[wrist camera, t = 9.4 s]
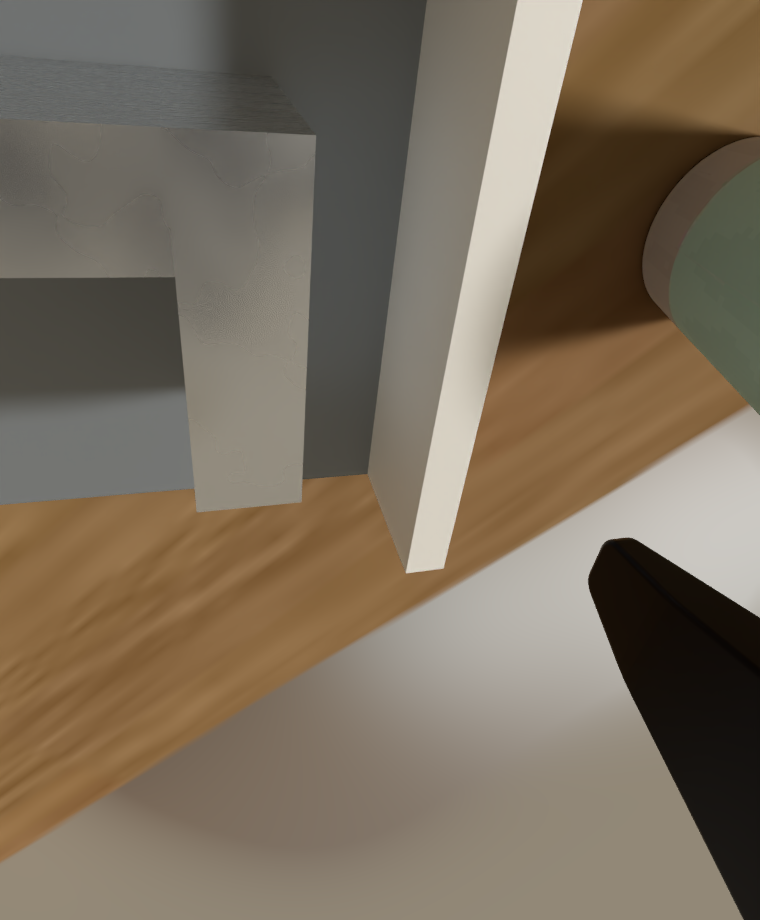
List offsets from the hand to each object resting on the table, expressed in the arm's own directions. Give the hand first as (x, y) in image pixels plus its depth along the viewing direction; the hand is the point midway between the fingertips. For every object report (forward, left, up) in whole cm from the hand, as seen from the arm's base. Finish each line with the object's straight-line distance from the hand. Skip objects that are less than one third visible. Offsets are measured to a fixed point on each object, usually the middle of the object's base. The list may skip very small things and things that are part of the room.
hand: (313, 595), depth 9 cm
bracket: (-1, -3, -11) cm, 12 cm away
